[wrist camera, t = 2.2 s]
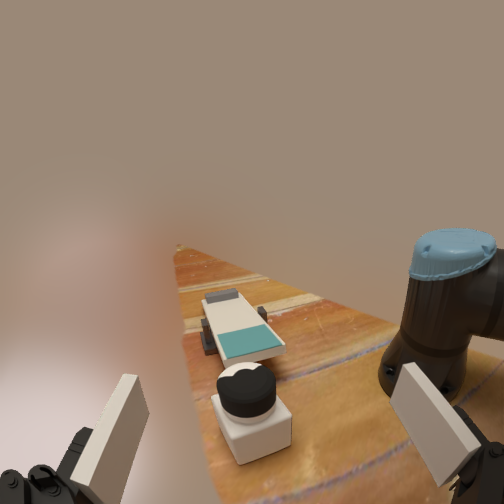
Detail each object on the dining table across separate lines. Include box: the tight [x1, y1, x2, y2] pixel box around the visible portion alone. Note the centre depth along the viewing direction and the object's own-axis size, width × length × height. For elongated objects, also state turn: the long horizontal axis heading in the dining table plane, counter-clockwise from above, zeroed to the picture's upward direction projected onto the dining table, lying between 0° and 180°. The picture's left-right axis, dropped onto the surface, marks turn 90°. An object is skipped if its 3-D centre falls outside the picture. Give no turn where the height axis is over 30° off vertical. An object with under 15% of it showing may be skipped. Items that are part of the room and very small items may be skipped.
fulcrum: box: [200, 306, 267, 355], centre depth 50 cm, size 6×13×5 cm, turn 107°
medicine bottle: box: [211, 362, 292, 465], centre depth 28 cm, size 7×7×12 cm
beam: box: [201, 288, 287, 369], centre depth 50 cm, size 28×9×3 cm, turn 17°
